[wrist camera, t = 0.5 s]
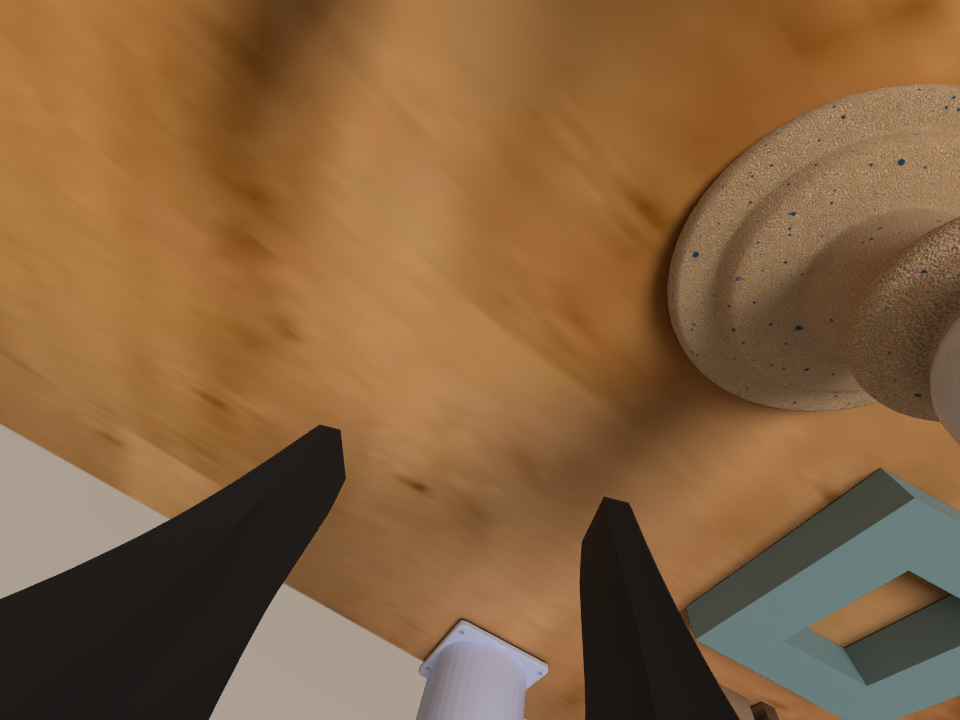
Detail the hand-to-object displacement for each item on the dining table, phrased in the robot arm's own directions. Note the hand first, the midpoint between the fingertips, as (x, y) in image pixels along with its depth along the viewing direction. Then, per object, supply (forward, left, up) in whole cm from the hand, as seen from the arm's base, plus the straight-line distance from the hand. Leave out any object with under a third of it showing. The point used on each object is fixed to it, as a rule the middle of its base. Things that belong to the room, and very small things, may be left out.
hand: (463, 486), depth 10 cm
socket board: (-3, -25, -11) cm, 27 cm away
